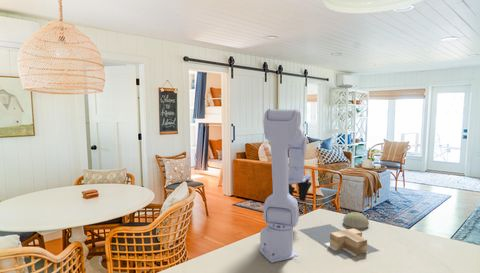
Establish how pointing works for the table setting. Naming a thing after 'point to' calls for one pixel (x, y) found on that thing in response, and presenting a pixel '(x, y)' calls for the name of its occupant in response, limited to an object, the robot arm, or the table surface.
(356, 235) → the T block
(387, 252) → the table surface
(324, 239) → the T board
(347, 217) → the sea urchin shell
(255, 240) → the table surface
